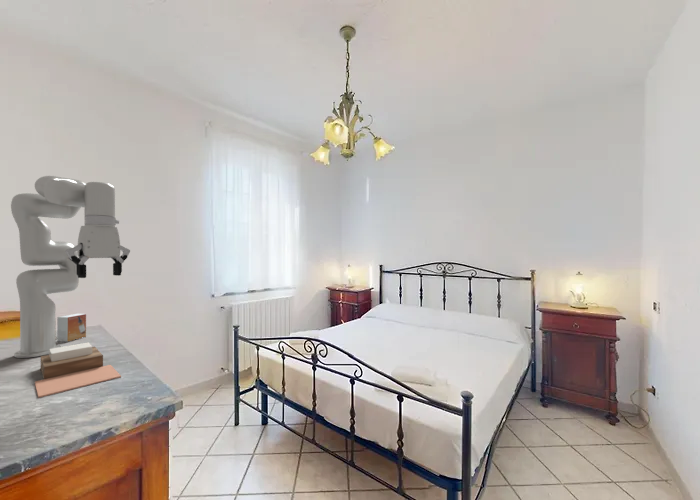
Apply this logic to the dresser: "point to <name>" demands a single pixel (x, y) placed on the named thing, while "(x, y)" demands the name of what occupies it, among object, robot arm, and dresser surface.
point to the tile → (70, 351)
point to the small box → (71, 327)
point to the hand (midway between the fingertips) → (100, 276)
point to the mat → (75, 380)
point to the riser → (70, 364)
